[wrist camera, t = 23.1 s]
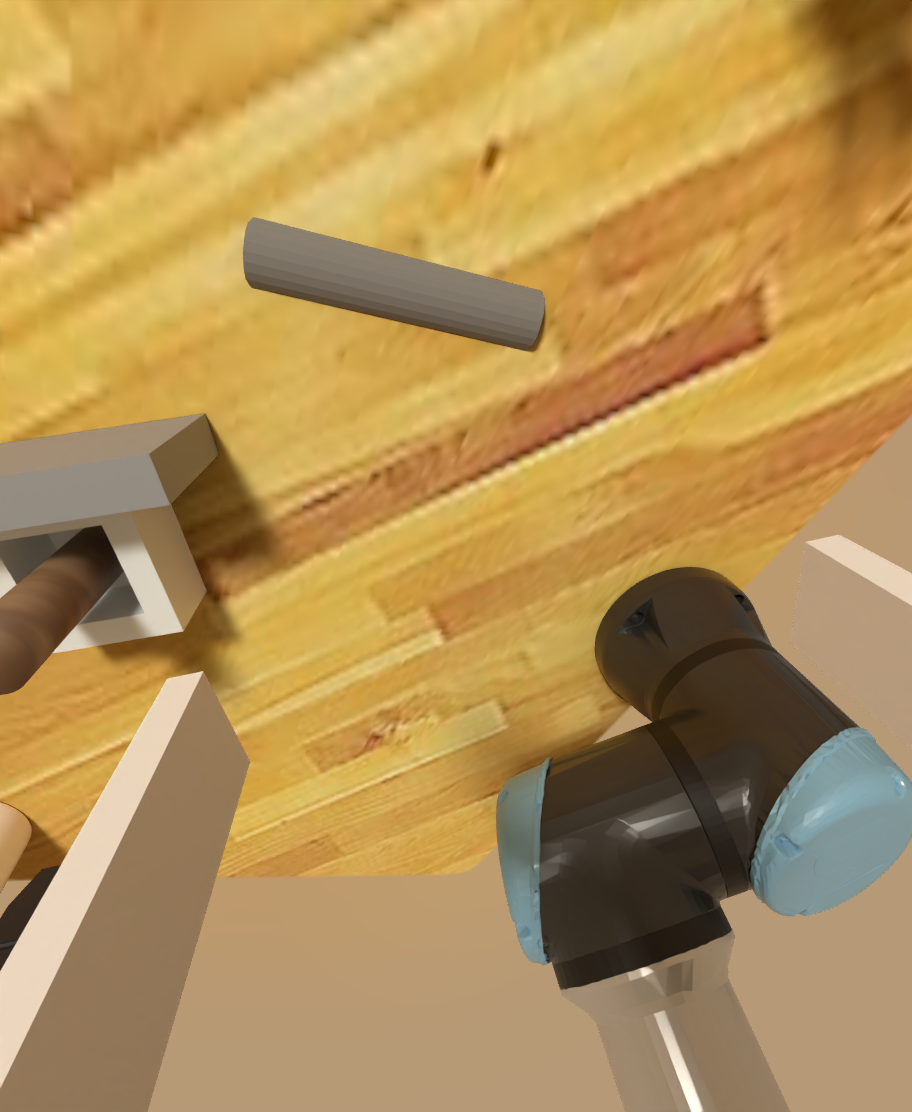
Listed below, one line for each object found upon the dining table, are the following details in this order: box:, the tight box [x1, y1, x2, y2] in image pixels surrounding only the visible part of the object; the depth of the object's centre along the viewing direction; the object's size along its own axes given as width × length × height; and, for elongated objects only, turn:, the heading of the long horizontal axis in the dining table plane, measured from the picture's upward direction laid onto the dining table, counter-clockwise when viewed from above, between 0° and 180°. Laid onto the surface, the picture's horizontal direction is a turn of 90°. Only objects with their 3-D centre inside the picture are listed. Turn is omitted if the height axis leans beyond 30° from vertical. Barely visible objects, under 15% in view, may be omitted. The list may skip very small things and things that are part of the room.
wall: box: [0, 413, 219, 531], centre depth 33 cm, size 3×20×10 cm, turn 97°
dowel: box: [0, 525, 124, 695], centre depth 34 cm, size 4×4×14 cm
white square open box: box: [0, 504, 207, 653], centre depth 38 cm, size 11×11×6 cm
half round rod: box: [243, 218, 545, 350], centre depth 35 cm, size 4×20×2 cm, turn 78°
